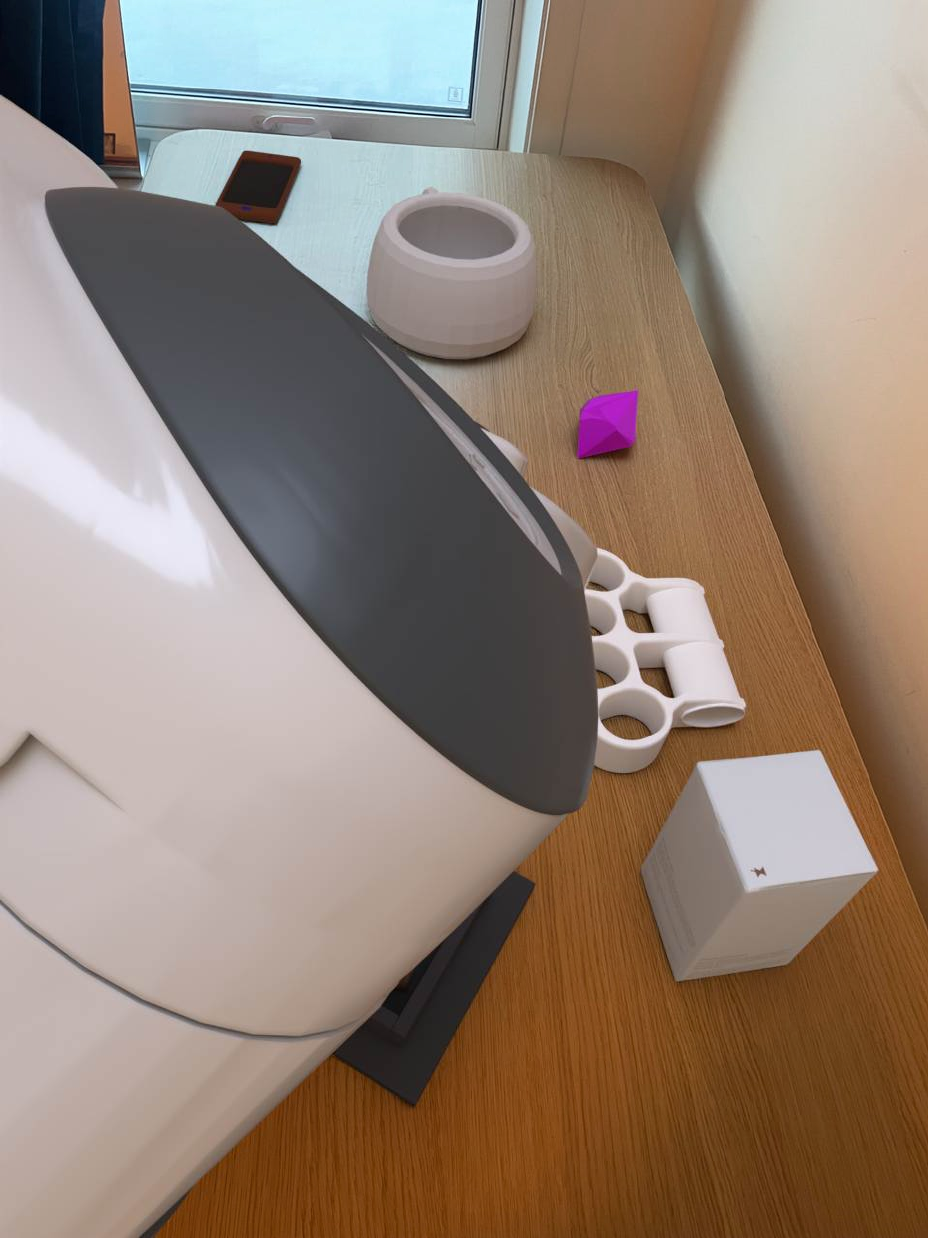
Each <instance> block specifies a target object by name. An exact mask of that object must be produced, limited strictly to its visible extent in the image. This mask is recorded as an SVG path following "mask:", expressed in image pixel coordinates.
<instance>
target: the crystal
mask: <svg viewBox="0 0 928 1238" xmlns="http://www.w3.org/2000/svg"><path fill="white" fill-rule="evenodd" d="M638 400H639V389H638V390H636V389H635V390H630V391H623V392H622V391H621V392H614V393H607V394H600V395H597V396H595V397H592V398H589V399H588V400H587V401H586V402H585V403H584V404H583V405H582V406H581V407H580V408H579V419H578V420H579V422H578V437H577V438H578V439H577V456H576V457H577V459H578V460H579V459H582V458H588V457H591V456H595V455H600V454H605V453H609V452H614V451H617V450H622V449H626V448H631V447H632V446H634V443H636V428H637V413H638V411H637V410H638V402H639V401H638Z"/></svg>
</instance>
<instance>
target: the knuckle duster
mask: <svg viewBox="0 0 928 1238" xmlns="http://www.w3.org/2000/svg"><path fill="white" fill-rule="evenodd" d="M596 548H597V553H598V557H597V561H596V565H595V567H594V570H593V573H592V575H591V578H590V580H589V582H588V583H591V584H596V585H599V586H601V587H603V588H605V589H606V591H602V590H601V591H600V590H594V589H589V588H586V589H585V591H584V593H585V599H586V604H587V610H588V616H589V622H590V627H592V628H593V629H596V630H597V631H598V632H599V633H600V635H592V643H593V652H594V661H595V670H596V671H599V672H603V673H604V674H606V675H607V676H609V677H610V678H611V679H612V680H613V681H614V682H615V684H612V685H609V686H606V687H602V688H598V737H597V747H596V754H595V761H594V767H596V768H599V769H601V770H603V771H606V772H610V773H614V774H615V773H616V774H630V773H635V772H638V771H641V770H644V769H645V768H647V767H648V766H649V765H651V764H652V763H653V762H654V761H655V759H656V758H657V757H658V755H659V753H660V751H661V749H662V748H663V746H664V744H665V742H666V739H667V738H668V736H669V733H670V732H671V729H673V728H691V727H695V728H717V727H722V726H726V725H731V724H733V723H737V722H739V721H741V720H742V719H744V717H745V716H746V714H747V713H746V710H745V709H746V707H747V703H746V702H745V699H744V698H742V697H741V696H740V693H739V691H738V688H737V685H736V682H735V680H734V676H733V673H732V672H731V671H732V670H731V668H730V665H729V662H728V659H727V657H726V654H725V651H724V648H725V644H724V641H723V639H721V638H719V634H718V632H717V629H716V625H715V623H714V621H713V618H712V615H711V612H710V610H709V607H708V604H707V601H706V598H705V593H706V591H705V589H704V586H702V585H701V584H700V583H699V582H698V581H696V580H693V579H690V578H686V577H649V578H647V577H644V576H643V575H640V574H637V573H636V572H634V571H632V570H630V569H629V566H628V565H627V564H626V563H625V562H624V560H622V559H621V558H620V557H619V556H617V555H615V554H614V553H612V552H610V551H608V550H606V549H602V548H600V547H596ZM625 610H628V611H632V612H634V613H637V614H648V616H649V619H650V623H651V625H652V629H653V632H641V633H639V632H635V631H633V630H631V629H630V628H629V627H628V626H627V623H626V618H625V616H624V611H625ZM656 668H664V669H665V671H666V675H667V678H668V681H669V685H670V688H671V691H672V694H673V697H668V696H666V695H664V694H663V693H661V692H660V691H659V690H657V689H656V688H654V687H652V686H651V685H649V684H646V683H645V682H644V681H643V679H642V675H641V672H640V669H656ZM615 716H627V717H631V718H634V719H636V720H638V721H639V722H641V723H642V724H643V725H645V726H646V727H647V729H648V730H649V732H650V734H651V735H648V736H645V737H643V738H639V739H625V738H623V737H619V736H617V735H615V734H614V733H612V732H611V731H610V730H608V729H607V728H606V727H605V725H604V724H603V723H602V721H604V720H606V719H609V718H612V717H615Z"/></svg>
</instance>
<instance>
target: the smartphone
mask: <svg viewBox="0 0 928 1238" xmlns="http://www.w3.org/2000/svg"><path fill="white" fill-rule="evenodd" d="M301 164H302V159H301V158H300V157H298V156H294V155H293V156H291V155H283V154H278V153H277V154H276V153H271V152H262V151H255V150H246V149H245V150H243V151H242V152H241V154H240V155H239V157H238V159H237V161H236V163H235V165H234V167H233V168H232V171H231V173H230V174H229V177H228V178H227V180H226V183H225V185H223V186H224V187H223V188H222V190H221V192H220V194H219V196H218V198H217V201H216V202H215V205H214V206H218V207H222V208H224V209H225V210H227V211H228V212H229V213H231V214H232V215H233V216H235V217H236V218H237V219H239V220H245V221H251V222H252V221H253V222H260V223H269V224H275V223H278V220H279V218H280V216H281V214H282V212H283V209H284V206H285V204H286V201H287V199H288V196H289V195H290V193H291V190H292V187H293V185H294V182H295V180H296V178H297V175H298V173H299V170H300V168H301Z"/></svg>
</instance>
